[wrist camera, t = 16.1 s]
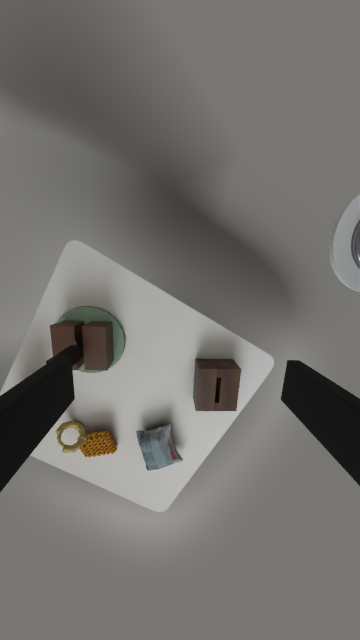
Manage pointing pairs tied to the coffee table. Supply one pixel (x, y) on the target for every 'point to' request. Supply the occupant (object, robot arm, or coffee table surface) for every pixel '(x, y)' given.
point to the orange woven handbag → (87, 440)
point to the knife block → (216, 384)
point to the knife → (71, 352)
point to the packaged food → (158, 447)
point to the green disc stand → (90, 337)
